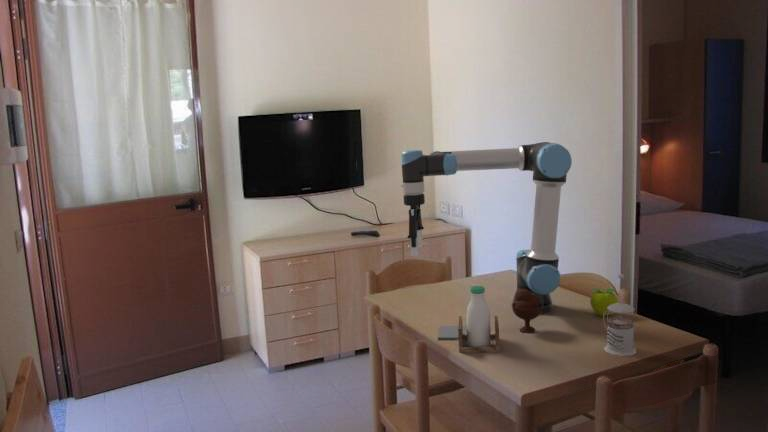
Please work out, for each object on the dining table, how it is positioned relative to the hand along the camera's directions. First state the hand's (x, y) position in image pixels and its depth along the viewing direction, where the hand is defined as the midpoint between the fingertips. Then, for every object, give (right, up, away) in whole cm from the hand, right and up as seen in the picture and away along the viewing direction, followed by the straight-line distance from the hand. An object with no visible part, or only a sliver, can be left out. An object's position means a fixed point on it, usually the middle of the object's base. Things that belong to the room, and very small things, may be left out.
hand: (416, 251), depth 231 cm
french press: (+63, -30, -28) cm, 75 cm away
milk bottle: (+20, -30, -19) cm, 41 cm away
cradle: (+20, -30, -19) cm, 41 cm away
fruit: (+70, -24, +5) cm, 74 cm away
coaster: (+13, -29, -7) cm, 32 cm away
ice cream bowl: (+39, -28, -7) cm, 48 cm away
